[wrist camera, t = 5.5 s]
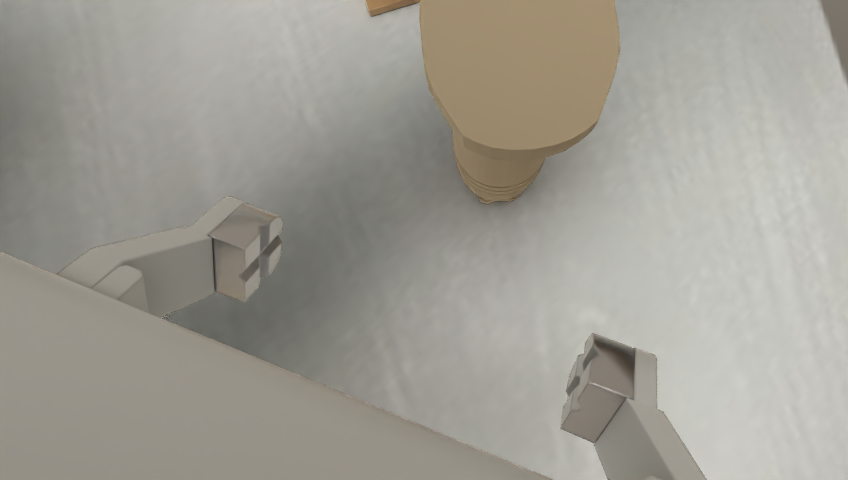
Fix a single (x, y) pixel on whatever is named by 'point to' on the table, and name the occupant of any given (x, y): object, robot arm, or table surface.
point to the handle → (517, 82)
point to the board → (386, 5)
